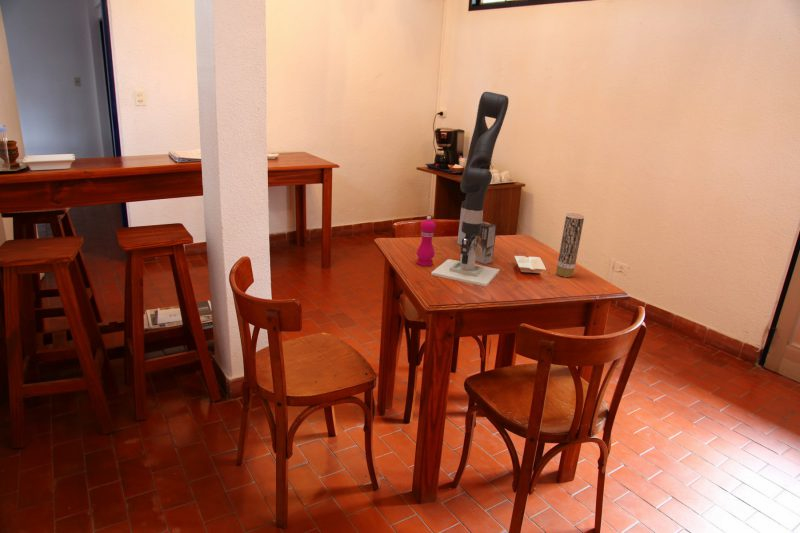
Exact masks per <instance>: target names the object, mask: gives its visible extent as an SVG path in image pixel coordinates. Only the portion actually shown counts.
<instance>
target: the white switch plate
mask: <svg viewBox="0 0 800 533" xmlns="http://www.w3.org/2000/svg"><path fill="white" fill-rule="evenodd" d="M500 271H501V269H499V268H494V267H490V266H484V265H480V264H475V269H474V270H465V269H464V268H463V267H462V266H461V265H460V260H455V259H450V258H448V259H446V260H445V261H444V262H443V263H442V264H440V265H439V266H437V267H436V268H435V269H433V270H432V271H431V274H430V276H436V277H440V278H444V279H448V280H454V281H458V282H463V283H467V284H471V285H478V286H482V287H487V286H488V285H489V284H490V283H491V282H492V281H493V280H494V279H495V277H496V276H497V275H498V274H499V273H500Z"/></svg>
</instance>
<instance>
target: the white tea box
mask: <svg viewBox="0 0 800 533" xmlns="http://www.w3.org/2000/svg"><path fill="white" fill-rule="evenodd" d="M465 251H466V249H465ZM459 258H460V259H459V261H460V265H461V266H462V267H463V268H464V269H465V270H474V269H475V265H476V262H477V261H476V254H475V251H474V247H473V245H472V249H471V250H470V251H469V255H468V263H467V264H462V254H461V253H460V257H459Z"/></svg>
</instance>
